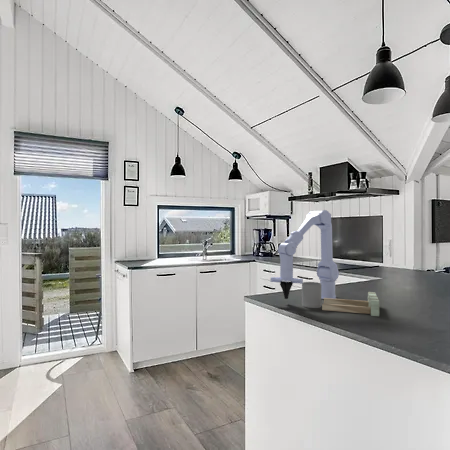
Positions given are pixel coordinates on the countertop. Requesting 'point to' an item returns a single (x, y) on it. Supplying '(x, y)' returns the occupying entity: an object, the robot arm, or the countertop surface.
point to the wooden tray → (353, 305)
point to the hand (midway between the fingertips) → (286, 298)
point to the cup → (311, 294)
